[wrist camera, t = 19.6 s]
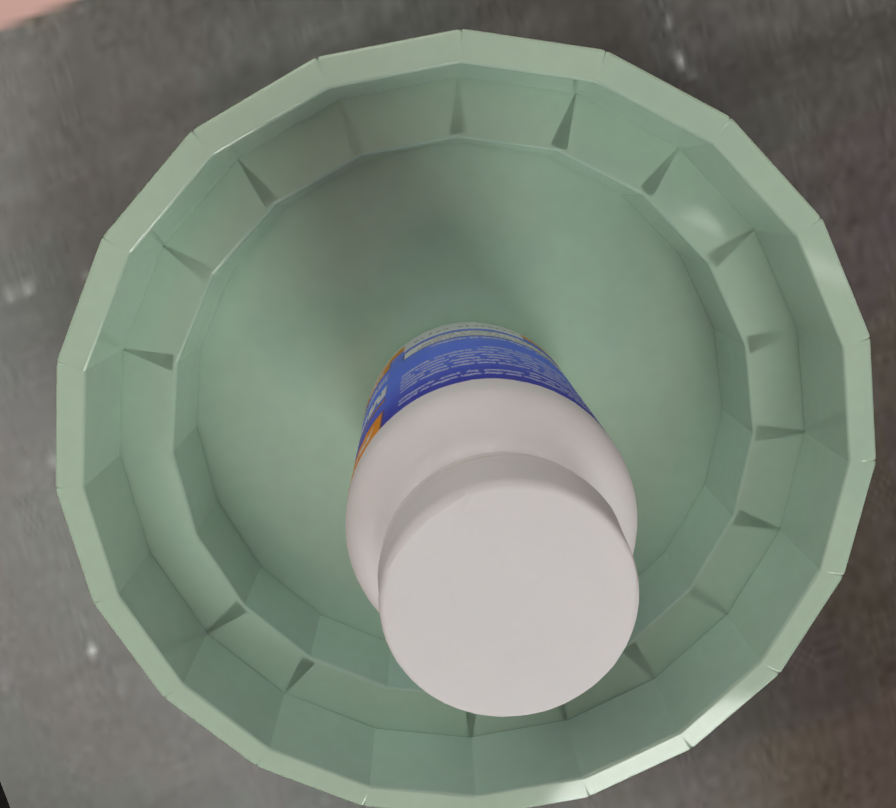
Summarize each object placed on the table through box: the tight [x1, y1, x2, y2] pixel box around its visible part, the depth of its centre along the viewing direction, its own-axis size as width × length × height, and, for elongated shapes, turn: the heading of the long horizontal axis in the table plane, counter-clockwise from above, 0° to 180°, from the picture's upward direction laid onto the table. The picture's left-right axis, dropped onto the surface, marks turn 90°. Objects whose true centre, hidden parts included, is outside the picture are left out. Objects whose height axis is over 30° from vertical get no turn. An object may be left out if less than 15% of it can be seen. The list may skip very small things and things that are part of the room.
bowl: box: [56, 29, 876, 808], centre depth 20 cm, size 17×17×5 cm
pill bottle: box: [345, 322, 639, 717], centre depth 17 cm, size 5×5×10 cm
